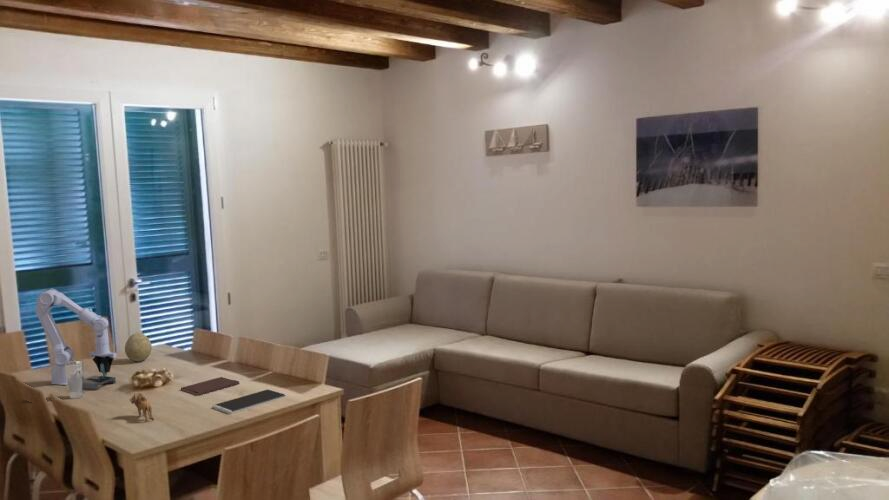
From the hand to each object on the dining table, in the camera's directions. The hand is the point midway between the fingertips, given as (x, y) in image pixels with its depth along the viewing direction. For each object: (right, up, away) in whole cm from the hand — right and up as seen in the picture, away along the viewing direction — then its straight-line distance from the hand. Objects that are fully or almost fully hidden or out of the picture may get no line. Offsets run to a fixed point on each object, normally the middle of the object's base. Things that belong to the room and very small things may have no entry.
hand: (104, 371), depth 318 cm
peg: (0, -3, 0) cm, 3 cm away
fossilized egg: (+2, -1, +32) cm, 32 cm away
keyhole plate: (+1, -4, -11) cm, 11 cm away
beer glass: (+1, -6, -27) cm, 27 cm away
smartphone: (+81, -5, -43) cm, 92 cm away
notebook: (+57, -4, -19) cm, 60 cm away
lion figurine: (+44, -8, -57) cm, 73 cm away
